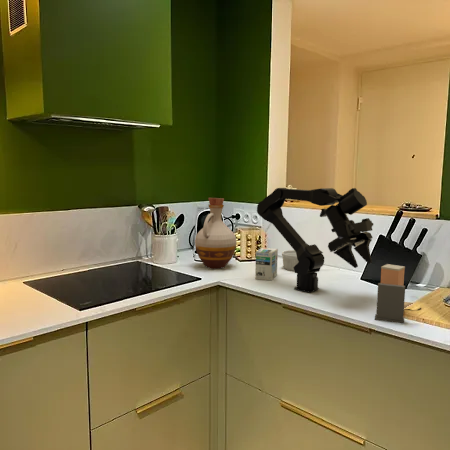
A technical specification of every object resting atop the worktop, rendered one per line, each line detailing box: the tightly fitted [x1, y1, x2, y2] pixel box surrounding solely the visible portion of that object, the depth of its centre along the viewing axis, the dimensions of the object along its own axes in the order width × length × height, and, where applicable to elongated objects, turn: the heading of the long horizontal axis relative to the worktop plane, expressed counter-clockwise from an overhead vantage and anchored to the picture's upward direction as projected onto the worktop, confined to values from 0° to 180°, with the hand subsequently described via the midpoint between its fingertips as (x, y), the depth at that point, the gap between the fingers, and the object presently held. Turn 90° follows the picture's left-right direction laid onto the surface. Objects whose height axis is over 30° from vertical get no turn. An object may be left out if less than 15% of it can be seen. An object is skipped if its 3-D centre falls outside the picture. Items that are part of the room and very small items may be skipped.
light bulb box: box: [254, 247, 279, 281], centre depth 164 cm, size 11×7×11 cm, turn 161°
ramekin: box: [281, 249, 299, 272], centre depth 179 cm, size 13×13×7 cm
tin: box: [380, 263, 406, 286], centre depth 125 cm, size 5×5×13 cm
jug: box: [194, 197, 237, 270], centre depth 178 cm, size 20×18×30 cm
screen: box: [374, 282, 406, 325], centre depth 116 cm, size 8×3×10 cm, turn 67°
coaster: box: [404, 301, 414, 308], centre depth 129 cm, size 7×7×1 cm
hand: (363, 265), depth 131 cm, fingers open, 9 cm apart
